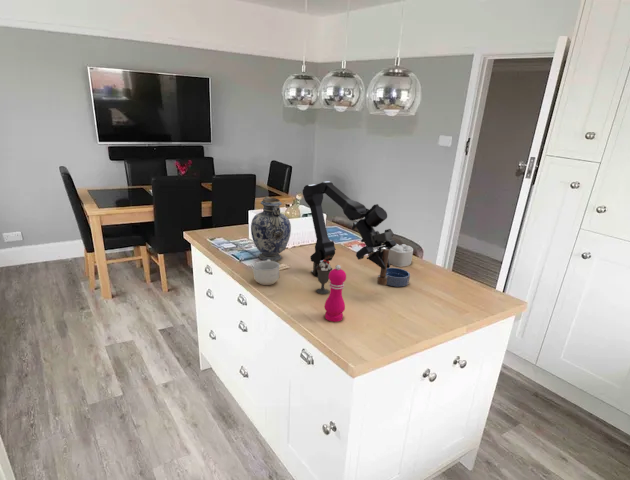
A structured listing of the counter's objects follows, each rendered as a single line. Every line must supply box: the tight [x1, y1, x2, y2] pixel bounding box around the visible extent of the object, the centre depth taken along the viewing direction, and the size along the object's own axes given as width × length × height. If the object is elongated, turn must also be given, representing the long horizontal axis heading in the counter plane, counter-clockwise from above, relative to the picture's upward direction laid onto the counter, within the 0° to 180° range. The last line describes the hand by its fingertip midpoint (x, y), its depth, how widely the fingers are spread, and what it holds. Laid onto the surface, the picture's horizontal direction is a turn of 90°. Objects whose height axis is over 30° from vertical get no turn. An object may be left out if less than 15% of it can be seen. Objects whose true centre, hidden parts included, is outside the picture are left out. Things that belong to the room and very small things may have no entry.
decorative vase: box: [250, 195, 292, 262], centre depth 196 cm, size 21×19×28 cm
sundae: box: [316, 256, 333, 295], centre depth 166 cm, size 7×7×15 cm
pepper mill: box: [324, 264, 347, 323], centre depth 144 cm, size 7×7×20 cm
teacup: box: [252, 260, 280, 286], centre depth 173 cm, size 14×11×8 cm
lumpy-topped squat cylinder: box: [388, 243, 414, 268], centre depth 207 cm, size 10×13×9 cm
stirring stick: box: [376, 249, 389, 286], centre depth 160 cm, size 4×4×14 cm
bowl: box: [386, 267, 411, 288], centre depth 183 cm, size 12×12×4 cm
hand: (386, 268), depth 160 cm, fingers closed on stirring stick, 2 cm apart
